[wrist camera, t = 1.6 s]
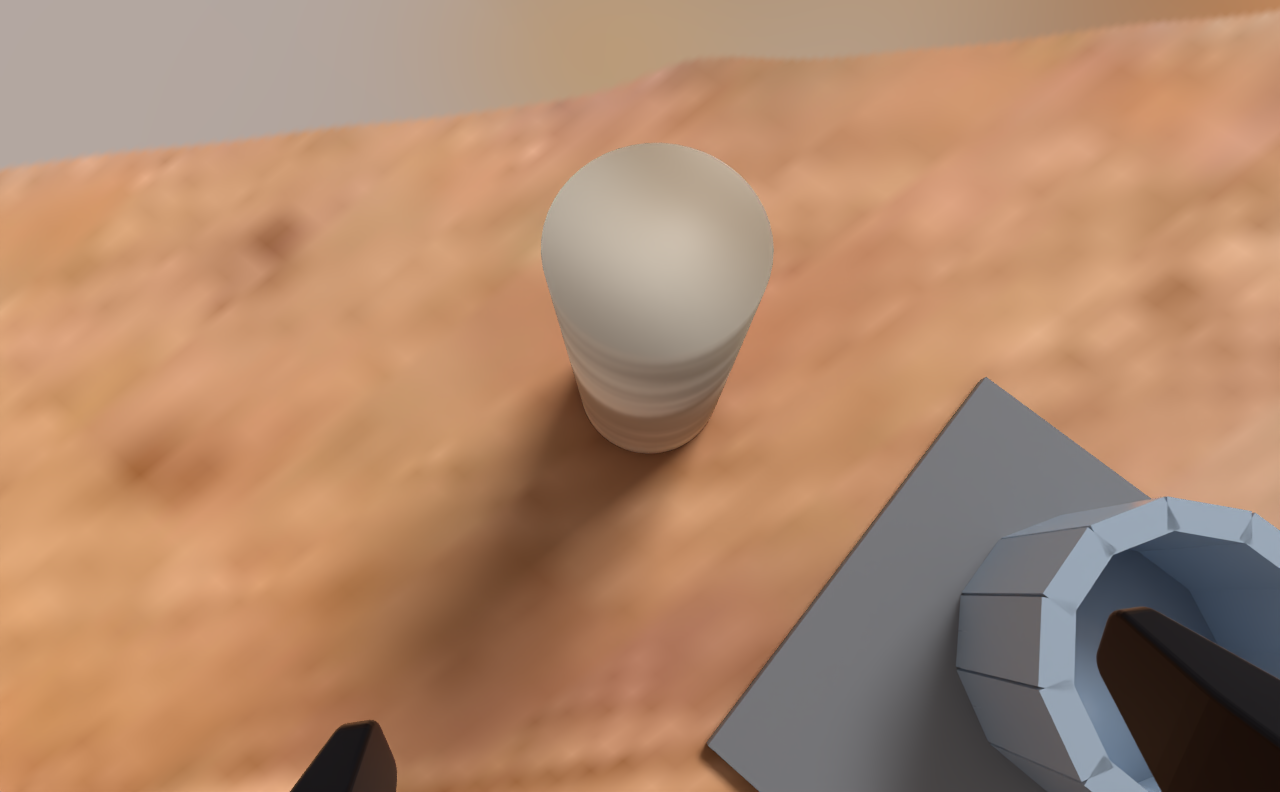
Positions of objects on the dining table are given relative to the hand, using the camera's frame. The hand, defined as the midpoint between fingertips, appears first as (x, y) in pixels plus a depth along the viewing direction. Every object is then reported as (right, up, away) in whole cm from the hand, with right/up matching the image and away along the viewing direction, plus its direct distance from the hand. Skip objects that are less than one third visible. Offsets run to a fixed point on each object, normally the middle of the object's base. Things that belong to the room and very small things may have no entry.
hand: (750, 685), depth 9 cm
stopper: (-1, +4, +15) cm, 15 cm away
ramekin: (+12, -4, +12) cm, 17 cm away
